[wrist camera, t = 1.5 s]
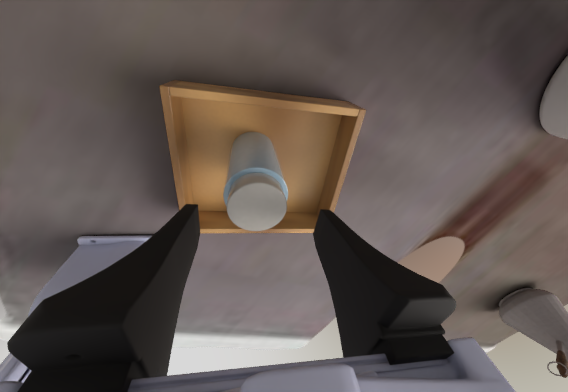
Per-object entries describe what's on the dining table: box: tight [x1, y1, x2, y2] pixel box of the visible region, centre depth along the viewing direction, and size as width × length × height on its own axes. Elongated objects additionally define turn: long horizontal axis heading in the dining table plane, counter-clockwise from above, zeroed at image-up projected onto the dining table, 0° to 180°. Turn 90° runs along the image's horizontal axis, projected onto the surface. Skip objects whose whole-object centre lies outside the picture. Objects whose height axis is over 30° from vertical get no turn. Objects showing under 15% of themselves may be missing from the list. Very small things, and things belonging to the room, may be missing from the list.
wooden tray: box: [159, 80, 366, 233], centre depth 21 cm, size 15×13×4 cm
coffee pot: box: [499, 288, 568, 378], centre depth 42 cm, size 21×12×15 cm, turn 64°
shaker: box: [223, 132, 288, 231], centre depth 17 cm, size 4×4×9 cm
